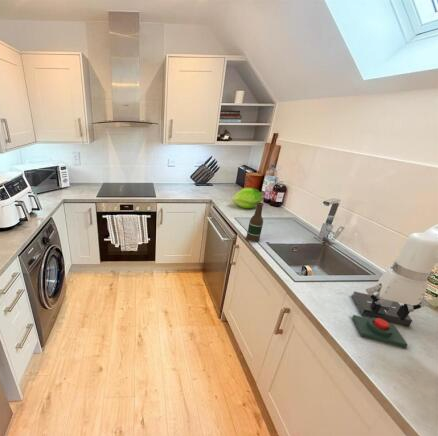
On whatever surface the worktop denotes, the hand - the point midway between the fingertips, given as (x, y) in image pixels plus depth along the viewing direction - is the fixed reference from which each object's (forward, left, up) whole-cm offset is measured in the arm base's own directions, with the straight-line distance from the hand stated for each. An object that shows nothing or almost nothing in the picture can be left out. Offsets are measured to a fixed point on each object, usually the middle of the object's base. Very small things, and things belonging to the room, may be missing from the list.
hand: (386, 313), depth 81 cm
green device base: (0, 0, -9) cm, 9 cm away
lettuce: (+47, -116, -9) cm, 125 cm away
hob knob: (-5, -13, -6) cm, 15 cm away
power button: (0, 0, -6) cm, 6 cm away
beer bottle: (+41, -58, -9) cm, 72 cm away
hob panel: (-5, -13, -9) cm, 16 cm away
